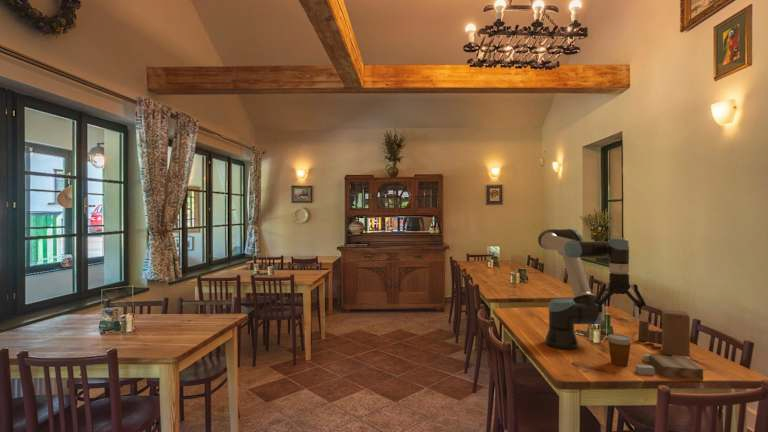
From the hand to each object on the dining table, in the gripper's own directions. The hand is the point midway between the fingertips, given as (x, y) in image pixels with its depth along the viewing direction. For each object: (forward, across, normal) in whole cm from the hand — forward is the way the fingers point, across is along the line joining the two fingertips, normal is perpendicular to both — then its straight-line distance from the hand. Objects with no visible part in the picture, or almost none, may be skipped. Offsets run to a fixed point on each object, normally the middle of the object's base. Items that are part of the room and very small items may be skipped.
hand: (619, 320), depth 177 cm
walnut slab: (+19, +20, -4) cm, 28 cm away
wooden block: (+19, +30, +20) cm, 41 cm away
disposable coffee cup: (+20, 0, 0) cm, 20 cm away
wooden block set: (+19, +25, +37) cm, 49 cm away
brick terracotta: (+20, +27, +8) cm, 34 cm away
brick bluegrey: (+20, +7, -9) cm, 22 cm away
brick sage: (+20, +15, +6) cm, 25 cm away
